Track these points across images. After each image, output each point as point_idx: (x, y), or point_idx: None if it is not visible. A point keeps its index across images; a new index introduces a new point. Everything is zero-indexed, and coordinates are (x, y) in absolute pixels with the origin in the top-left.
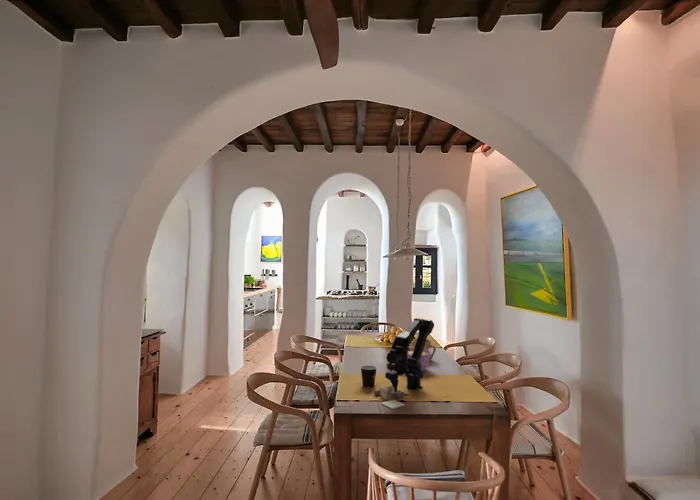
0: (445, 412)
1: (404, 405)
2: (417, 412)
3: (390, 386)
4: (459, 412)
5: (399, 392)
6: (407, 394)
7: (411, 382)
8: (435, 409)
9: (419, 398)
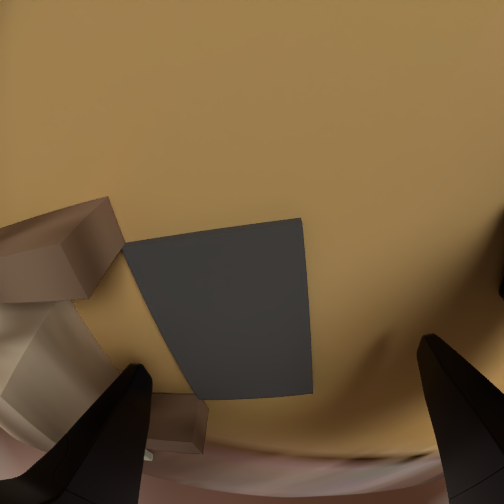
0: (297, 495)
1: (151, 456)
2: (186, 482)
3: (41, 437)
4: (341, 494)
5: (160, 441)
6: (297, 393)
7: (449, 458)
8: (283, 488)
9: (332, 437)
